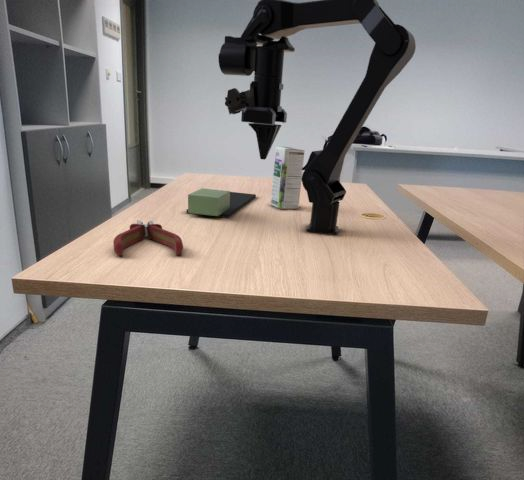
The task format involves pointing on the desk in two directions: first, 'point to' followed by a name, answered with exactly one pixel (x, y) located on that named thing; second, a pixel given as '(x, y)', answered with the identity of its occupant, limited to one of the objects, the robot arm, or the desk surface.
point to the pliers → (153, 233)
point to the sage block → (208, 202)
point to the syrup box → (287, 177)
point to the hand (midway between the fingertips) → (263, 159)
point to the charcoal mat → (235, 203)
